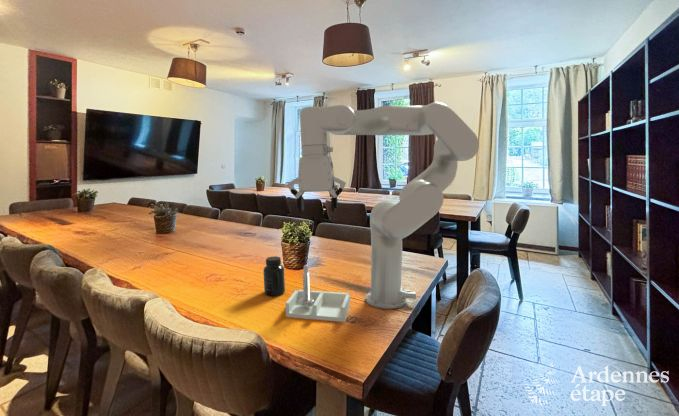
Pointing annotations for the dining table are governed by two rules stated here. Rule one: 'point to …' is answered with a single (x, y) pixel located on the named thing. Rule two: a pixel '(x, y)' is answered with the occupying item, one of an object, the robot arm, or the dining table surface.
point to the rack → (320, 306)
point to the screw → (306, 291)
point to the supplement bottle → (274, 277)
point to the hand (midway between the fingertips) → (317, 211)
